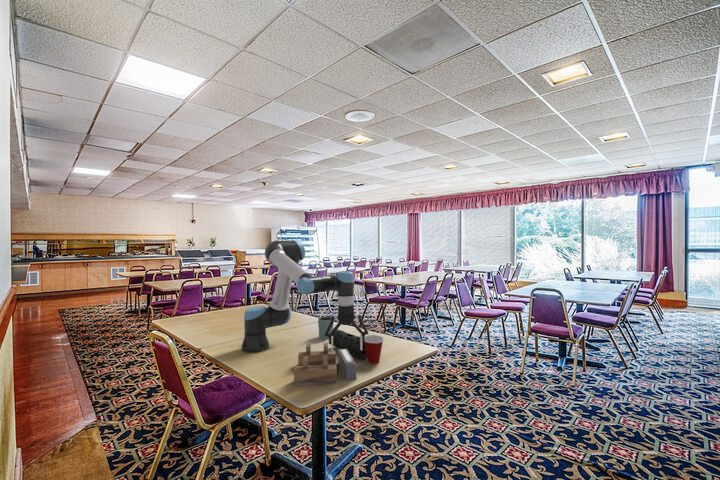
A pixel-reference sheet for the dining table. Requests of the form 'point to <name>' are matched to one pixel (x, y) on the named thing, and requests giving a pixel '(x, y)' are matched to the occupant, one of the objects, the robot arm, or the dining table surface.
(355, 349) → the black perforated cylinder
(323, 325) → the grey green pot
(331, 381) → the rack
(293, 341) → the dining table surface
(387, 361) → the dining table surface
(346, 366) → the gray rectangular block
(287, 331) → the dining table surface
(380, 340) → the plastic cup
